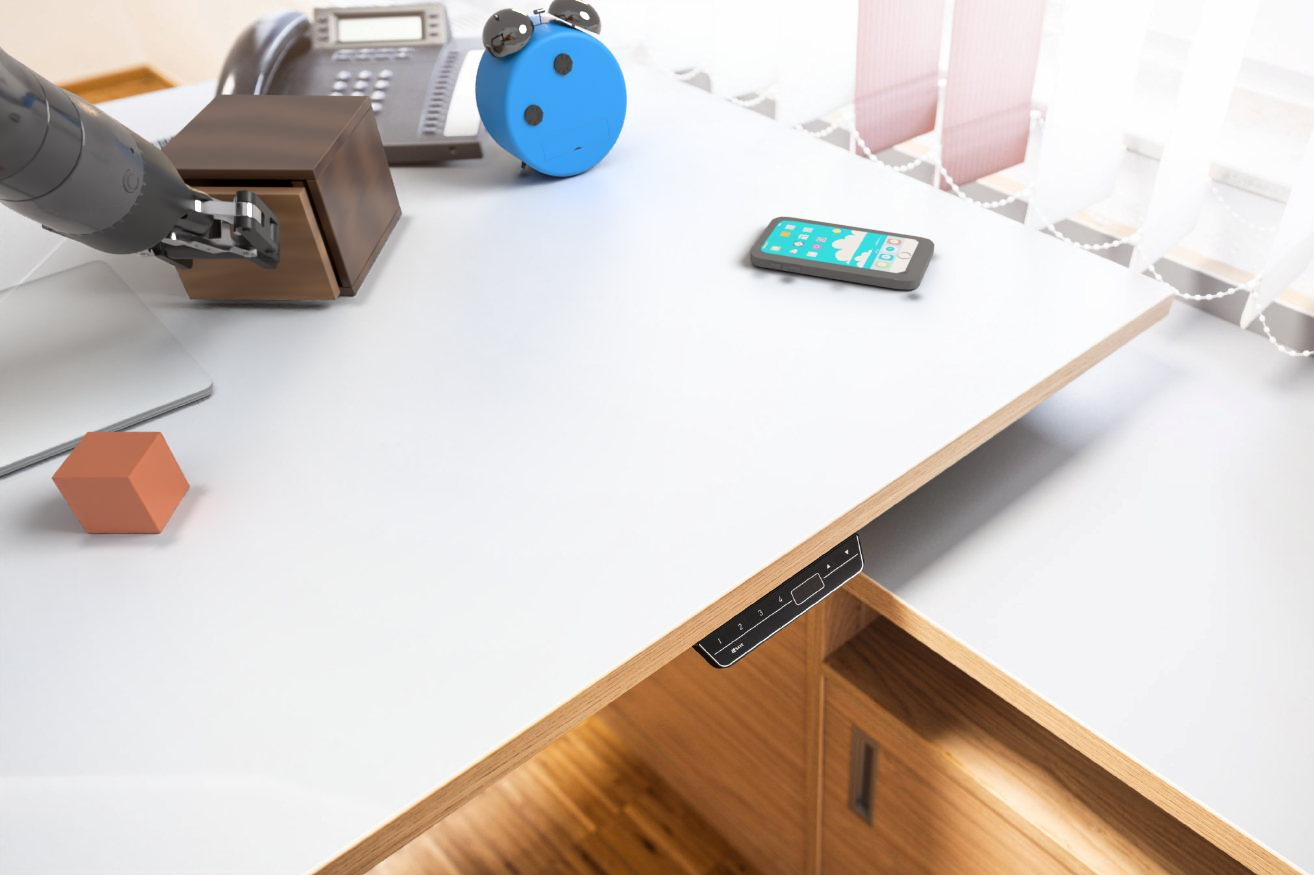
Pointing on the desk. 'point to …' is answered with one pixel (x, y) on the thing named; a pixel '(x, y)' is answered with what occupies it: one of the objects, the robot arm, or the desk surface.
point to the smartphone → (843, 252)
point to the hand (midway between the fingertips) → (229, 255)
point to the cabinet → (303, 164)
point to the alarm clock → (550, 88)
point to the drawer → (301, 249)
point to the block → (122, 482)
